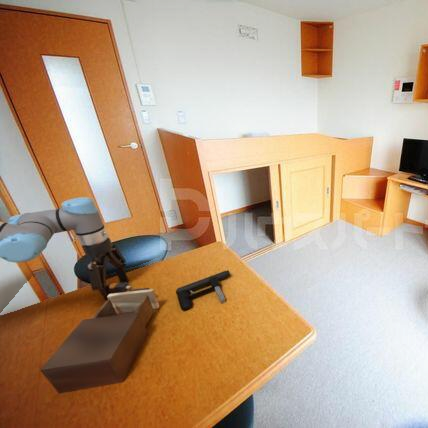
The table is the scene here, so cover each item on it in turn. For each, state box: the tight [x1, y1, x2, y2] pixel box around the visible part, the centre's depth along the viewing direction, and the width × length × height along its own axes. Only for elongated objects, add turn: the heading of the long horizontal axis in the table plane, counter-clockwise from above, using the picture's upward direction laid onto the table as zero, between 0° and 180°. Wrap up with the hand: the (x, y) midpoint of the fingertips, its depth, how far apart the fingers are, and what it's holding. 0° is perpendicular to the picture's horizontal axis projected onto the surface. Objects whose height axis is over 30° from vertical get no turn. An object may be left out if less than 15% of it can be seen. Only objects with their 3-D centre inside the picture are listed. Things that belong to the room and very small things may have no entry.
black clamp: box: [175, 269, 231, 311], centre depth 91 cm, size 3×20×16 cm
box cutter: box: [106, 282, 131, 294], centre depth 92 cm, size 8×3×3 cm, turn 101°
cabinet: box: [39, 312, 149, 394], centre depth 66 cm, size 15×15×10 cm
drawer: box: [92, 287, 160, 327], centre depth 78 cm, size 18×13×8 cm
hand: (117, 289), depth 93 cm, fingers open, 9 cm apart
